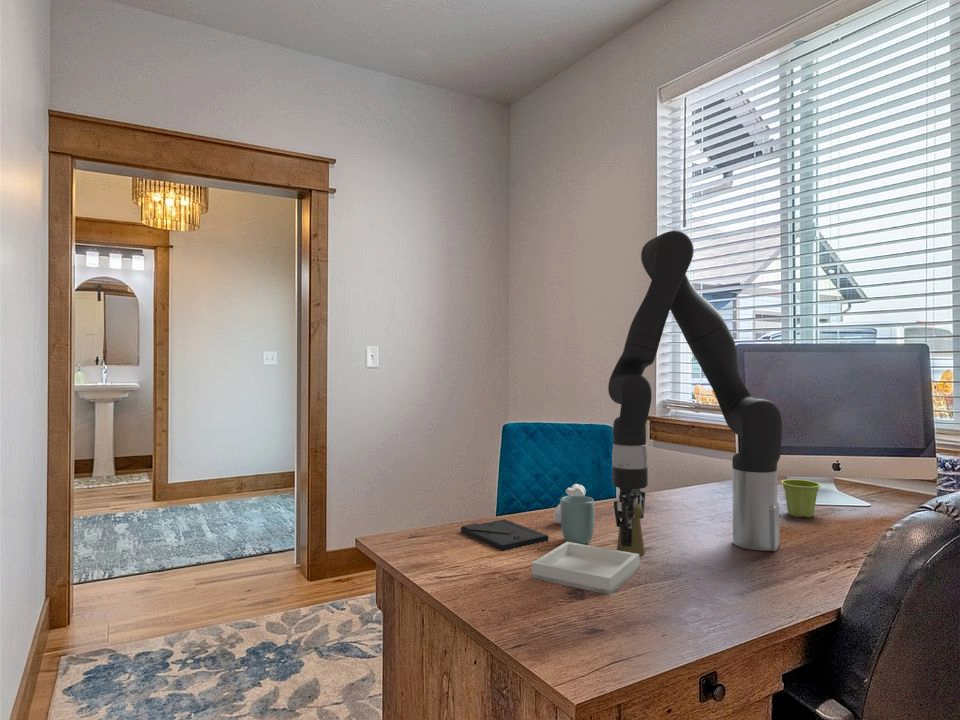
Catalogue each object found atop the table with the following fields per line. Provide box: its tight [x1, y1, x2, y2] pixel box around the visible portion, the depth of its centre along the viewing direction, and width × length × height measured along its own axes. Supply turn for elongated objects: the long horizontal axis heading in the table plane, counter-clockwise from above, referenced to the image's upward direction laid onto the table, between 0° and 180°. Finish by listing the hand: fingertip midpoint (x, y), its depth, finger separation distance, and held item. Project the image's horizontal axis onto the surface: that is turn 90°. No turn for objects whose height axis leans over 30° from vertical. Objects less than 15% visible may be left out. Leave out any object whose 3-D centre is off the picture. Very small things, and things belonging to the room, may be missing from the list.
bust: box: [553, 483, 587, 525], centre depth 156 cm, size 12×8×11 cm
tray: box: [531, 541, 641, 596], centre depth 119 cm, size 16×16×3 cm
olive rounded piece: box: [616, 504, 646, 557], centre depth 132 cm, size 6×6×11 cm
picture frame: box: [460, 519, 549, 552], centre depth 145 cm, size 13×2×18 cm
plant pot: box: [781, 479, 822, 519], centre depth 163 cm, size 9×9×9 cm
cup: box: [559, 495, 595, 545], centre depth 140 cm, size 8×8×10 cm
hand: (630, 542), depth 132 cm, fingers open, 4 cm apart
